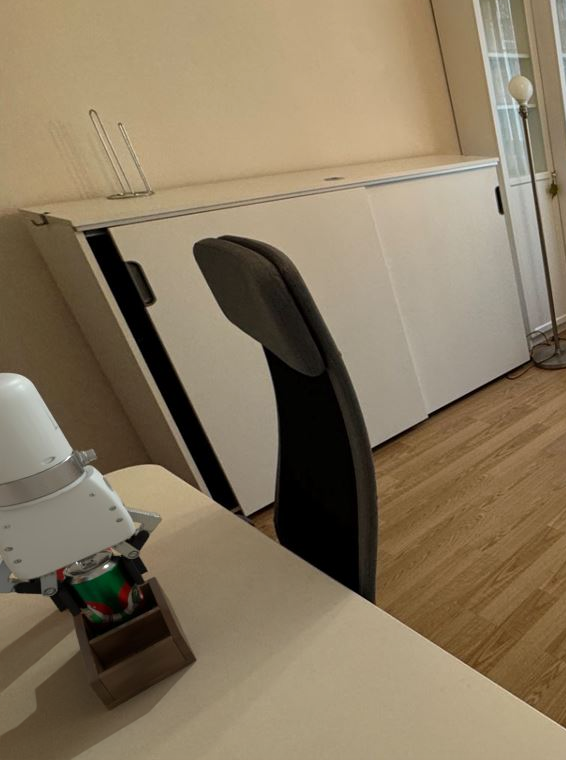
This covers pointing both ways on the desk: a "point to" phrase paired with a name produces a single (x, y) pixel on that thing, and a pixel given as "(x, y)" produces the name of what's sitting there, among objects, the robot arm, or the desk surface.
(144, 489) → the desk surface
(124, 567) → the soda can
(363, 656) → the desk surface
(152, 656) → the brown wooden divided box
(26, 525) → the robot arm
